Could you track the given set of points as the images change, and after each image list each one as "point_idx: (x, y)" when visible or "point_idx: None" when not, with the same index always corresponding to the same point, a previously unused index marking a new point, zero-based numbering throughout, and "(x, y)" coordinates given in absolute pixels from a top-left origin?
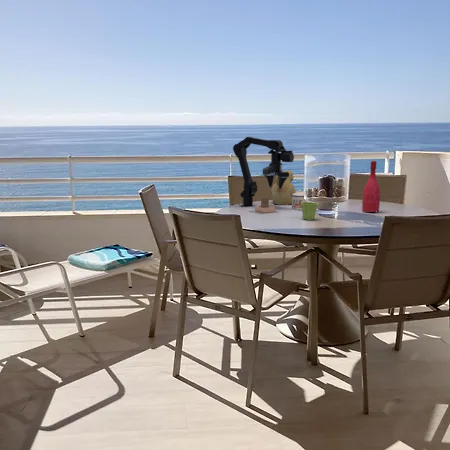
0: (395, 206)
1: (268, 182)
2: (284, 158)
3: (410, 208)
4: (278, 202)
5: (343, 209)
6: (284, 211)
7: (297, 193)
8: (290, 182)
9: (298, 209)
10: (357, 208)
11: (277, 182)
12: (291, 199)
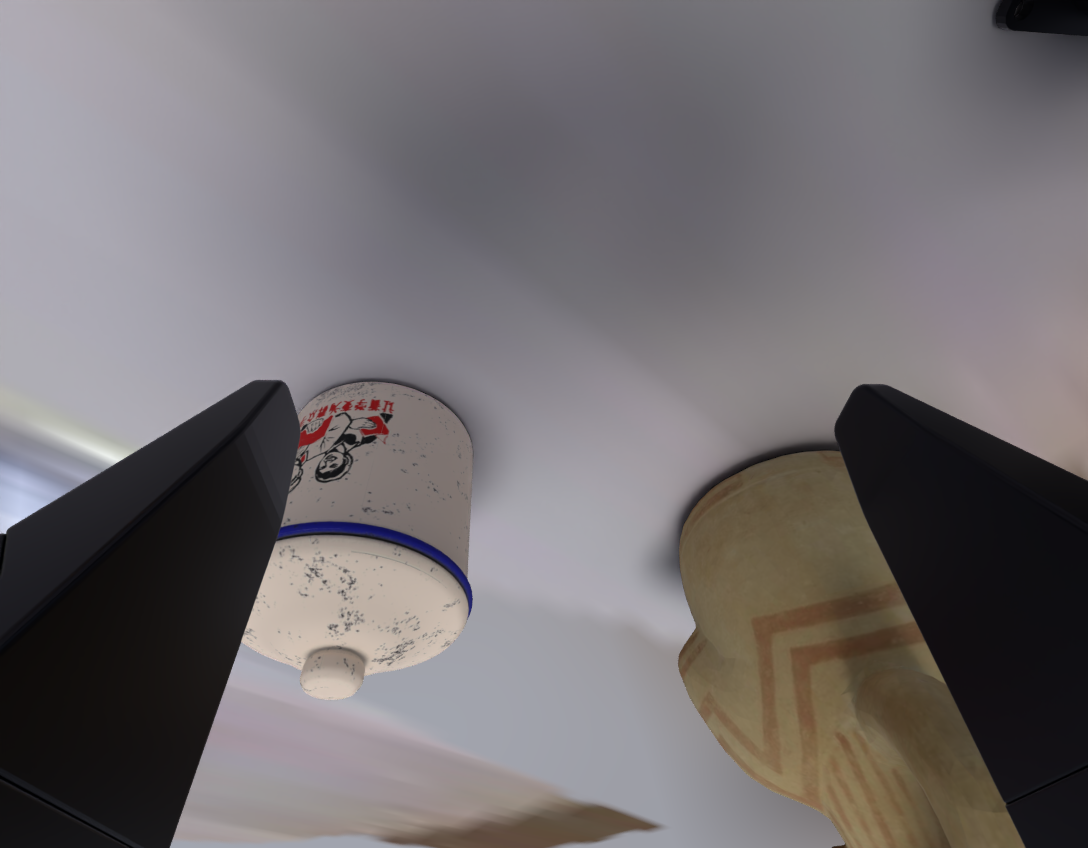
0: (278, 819)
1: (1081, 483)
2: None
3: (197, 828)
4: (779, 468)
5: (249, 675)
6: (286, 181)
7: (295, 604)
8: (822, 813)
9: (302, 409)
10: (267, 729)
11: (946, 732)
12: (685, 586)
